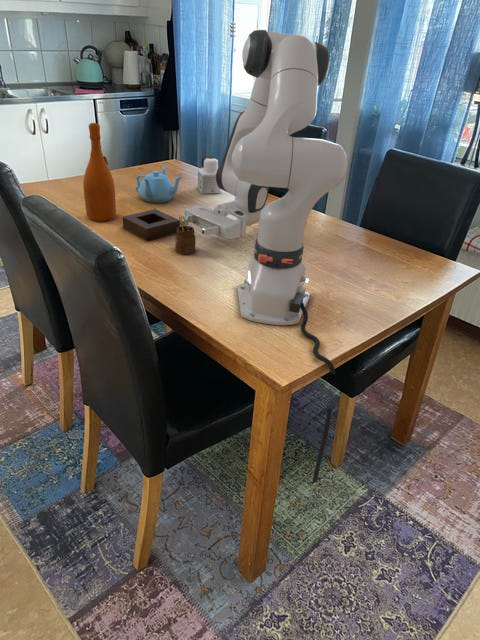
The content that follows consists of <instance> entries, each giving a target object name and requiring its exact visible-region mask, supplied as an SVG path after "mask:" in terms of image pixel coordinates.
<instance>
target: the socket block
mask: <svg viewBox="0 0 480 640" xmlns="http://www.w3.org/2000/svg"><path fill="white" fill-rule="evenodd" d="M180 226H181V225H180V220H179V218H177V217H174V216H173V215H169V214H168V213H165V212H163V211H160V210H159V209H156V208H153V209H150V210H149V209H148V210H145V211H139V212H137V213H133V214H128V215H124V216H123V215H122V229H124V230H125V231H127V232H129V233H131V234H132V235H135V236H136V237H138V238H141V239H143V240H144V241H146V242H150V241H153V240H157V239H160V238H164V237H167V236H171V235H174V234H177V228H178V227H180Z"/></svg>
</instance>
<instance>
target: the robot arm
mask: <svg viewBox="0 0 480 640" xmlns="http://www.w3.org/2000/svg"><path fill="white" fill-rule="evenodd" d="M330 56H331V55H330V52H329V49H328V47H326V46H325V45H324V44H321V43H320V42H317V41H314V42H313V41H312V40H310V38H308V37H307V36H304V35H301V34H290V33H285V32H284V33H283V32H275V31H267V30H266V29H256V30H253V31H251V32H250V33H249V34H248V37H247V39H246V40H245V42H244V44H243V47H242V56H241V57H242V63H243V65H242V66H243V69H244V71H245V72H246V74H248V75H249V76H251V77H253V78H255V80H254V82H253V86H252V90H251V94H250V98H249V102H248V105H247V107H246V108H245V110H243V111H242V112H240V113H239V115H238V116H237V118H236V120H235V122H234V124H233V127H232V130H231V133H230V136H229V139H228V142H227V145H226V147H225V151H224V154H223V156H222V159H221V161H220V163H219V164H218V169H217V172H216V182H217V185H218V187H219V188H220V189H221V190H222V191H223V192H227V193H228V194H230V195H232V196H233V197H234V200H233V201H228V202H224V203H220V204H217V205H216V206H215V207H214V209H213V208H209V207H207V206H203V205H200V206H199V205H198V206H197V205H196V206H191V207H187V208H185V209H184V219H185V226H190V225H189V224H193V225H195V226H197V227H200V228H201V234H202V235H204V236H208V235H213V236H214V235H217V236H219V237H221V238H224V239H227V240H230V239H235V238H238V237H239V238H240V237H244V236H246V231H247V227H249V226H253V225H255V224H257V223H258V229H257V238H256V240H255V244H254V247H253V250H254V251H253V256H252V257H251V258H250V259H248V261H247V270H246V278H245V279H244V282H243V283H240V284H238V286H237V296H238V303H239V311H240V316H241V318H243V319H246V320H248V321H251V322H255V323H260V324H265V325H274V326H293V325H298V324H299V323H300V321H301V319H302V321H301V323H300V324H301V325H300V331H301V333H302V335H303V336H304V337H306V338H308V339H310V340H312V341H313V342H314V346H313V349H312V353H313V355H314V357H315V358H316V359H318V360H319V361H321V362H323V363H324V364H325V365H326V366H327V367H328V369H329V372H330V374H331V375H336V369H335V366H334V364H333V363H332V361H331V360H330V359H328V358H327V357H325V356H324V355H322V354H320V353H319V348H320V343H321V342H320V339H319V338H318V337H317V336H316V335H314V334H312V333H309V332H308V331H307V330H306V326H307V323H308V320H309V314H308V310H307V308H306V307H307V306H308V303H309V301H310V299H311V293H309V292H308V291H306V290H307V288H306V287H305V283H309V278H307V276H306V272H307V266H306V265H305V264H304V263H303V256H304V243H303V240H304V235H305V232H306V226H307V222H308V220H309V219H308V218H309V215H310V214H311V211H312V210H313V208H314V207H315V206H316V204H317V203H318V201H319V200H320V199H321V198H322V197H324V196H325V195H326V194H327V193H329V192H330V191H332V190H334V189H335V188H337V187H338V186H339V185H340V184H341V183H342V182H343V180H344V178H345V176H346V174H347V170H348V157H347V154H346V152H345V149H344V148H343V146H341V144H338V143H334V142H333V141H329V140H326V139H322V138H310V137H309V138H308V137H294V136H291V135H292V134H295V133H297V132H299V131H301V130H303V129H305V128H307V127H308V126H309V125H310V124H312V122H313V121H314V119H315V118H316V115H317V110H318V92H319V91H318V89H319V87H320V86H321V85H322V84H323V83H324V81H325V79H326V77H327V75H328V72H329V69H330V60H331V59H330V58H331V57H330ZM269 187H270V188H280V189H281V188H283V189H287V192H286V193H285V194H284V195H283V196H282V197H280V198H278V199H275V200H272V201H269V203H268V202H267V200H268V196H269ZM188 213H189V214H188ZM186 214H188V215H186ZM191 215H192V216H191ZM182 219H183V217H182ZM186 220H187V224H186ZM189 220H190V222H189ZM181 222H182V221H181ZM191 222H192V223H191ZM183 223H184V221H183ZM302 317H303V318H302ZM332 413H333V409H331V408H327V409H326V415H325V421H324V426H323V427H324V428H323V433H322V437H321V442H320V445H319V450H318V454H317V458H316V461H315V467H314V472H313V477H312V482H313V483H317V482H318V477H319V473H320V469H321V464H322V460H323V458H324V457H323V456H324V453H325V448H326V444H327V441H328V440H327V439H328V435H329V430H330V425H331V419H332Z"/></svg>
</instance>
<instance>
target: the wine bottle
mask: <svg viewBox="0 0 480 640" xmlns="http://www.w3.org/2000/svg"><path fill="white" fill-rule="evenodd" d="M88 131H89V140H90V153H89V160H88V163H87V165H86V166H87V167H86V168H85V171H84V176H83V182H82V183H83V197H84V204H85V205H84V206H85V213H86V216H87V218H88V219H89V220H91V221H94V222H108V221H111V220H113V219H115V217H116V215H117V203H116V202H117V201H116V187H115V182H114V181H115V180H114V178H113V175H112V172H111V170H110V168H109V162H108V158H107V156H105V155H104V153H103V151H102V148H101V141H100V140H101V138H102V137H101V126H100V124H99V123H97V122H90V123H89V124H88Z"/></svg>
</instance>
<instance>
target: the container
mask: <svg viewBox="0 0 480 640" xmlns="http://www.w3.org/2000/svg"><path fill="white" fill-rule="evenodd" d="M218 167H219V159H218V158H217V157H215V156H204V157H202V158H201V167H200V168H198V169H197V189H198V190H199V192H200V193H201V194H221V190H222V189H220V188H219V187H218V185H217V182H216V172H217V169H218Z"/></svg>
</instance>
